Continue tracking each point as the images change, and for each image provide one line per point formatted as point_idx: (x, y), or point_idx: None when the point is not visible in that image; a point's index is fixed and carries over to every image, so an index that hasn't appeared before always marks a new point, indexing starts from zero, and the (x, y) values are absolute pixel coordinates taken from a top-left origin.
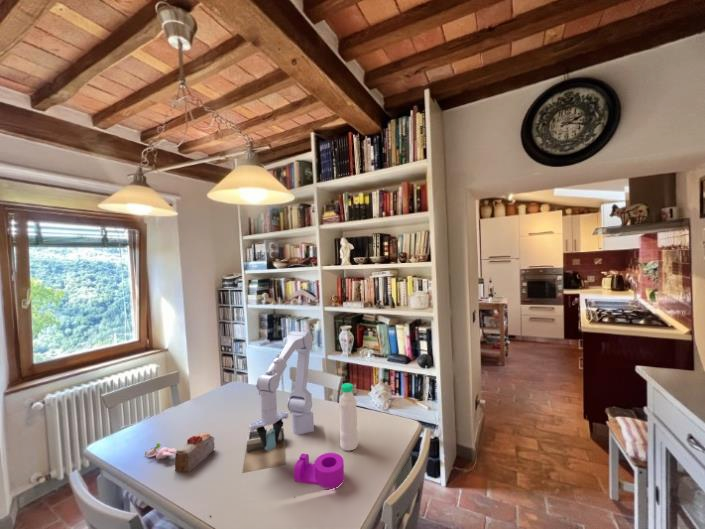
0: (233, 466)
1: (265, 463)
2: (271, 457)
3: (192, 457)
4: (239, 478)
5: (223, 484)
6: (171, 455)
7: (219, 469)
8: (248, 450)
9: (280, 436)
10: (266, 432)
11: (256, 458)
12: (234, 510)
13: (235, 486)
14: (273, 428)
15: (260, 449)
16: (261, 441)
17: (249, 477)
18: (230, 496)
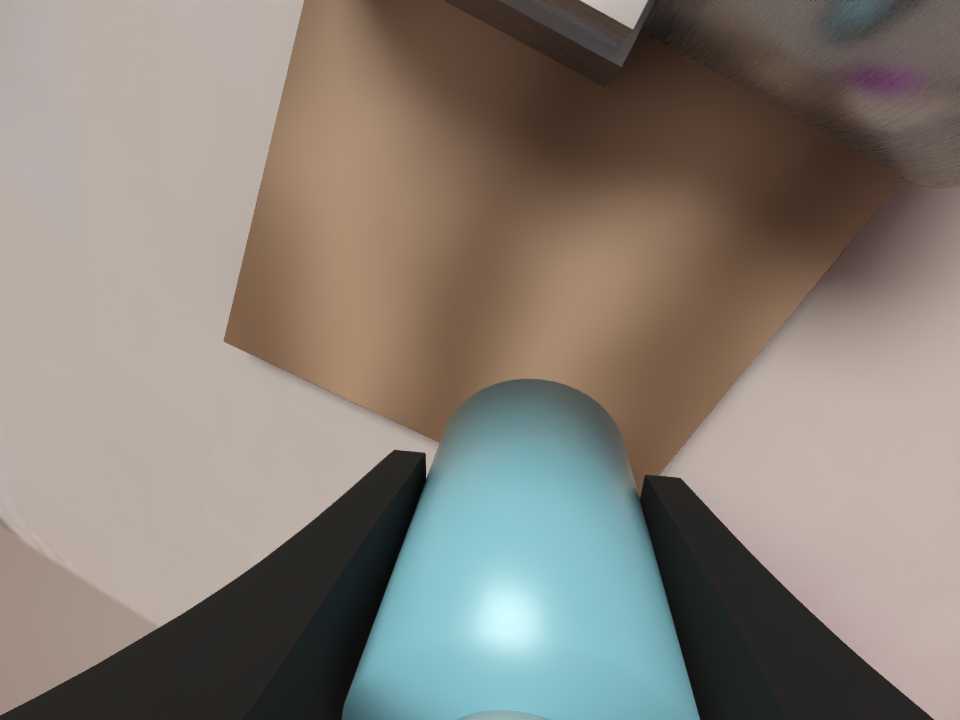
0: (173, 92)
1: (465, 379)
2: (566, 334)
3: None
4: (218, 336)
5: (85, 308)
6: None
7: (18, 21)
8: None
9: (943, 174)
10: (437, 702)
11: (415, 215)
12: (166, 573)
13: (180, 401)
14: (761, 717)
15: (534, 49)
16: (357, 489)
17: (299, 387)
18: (143, 465)
